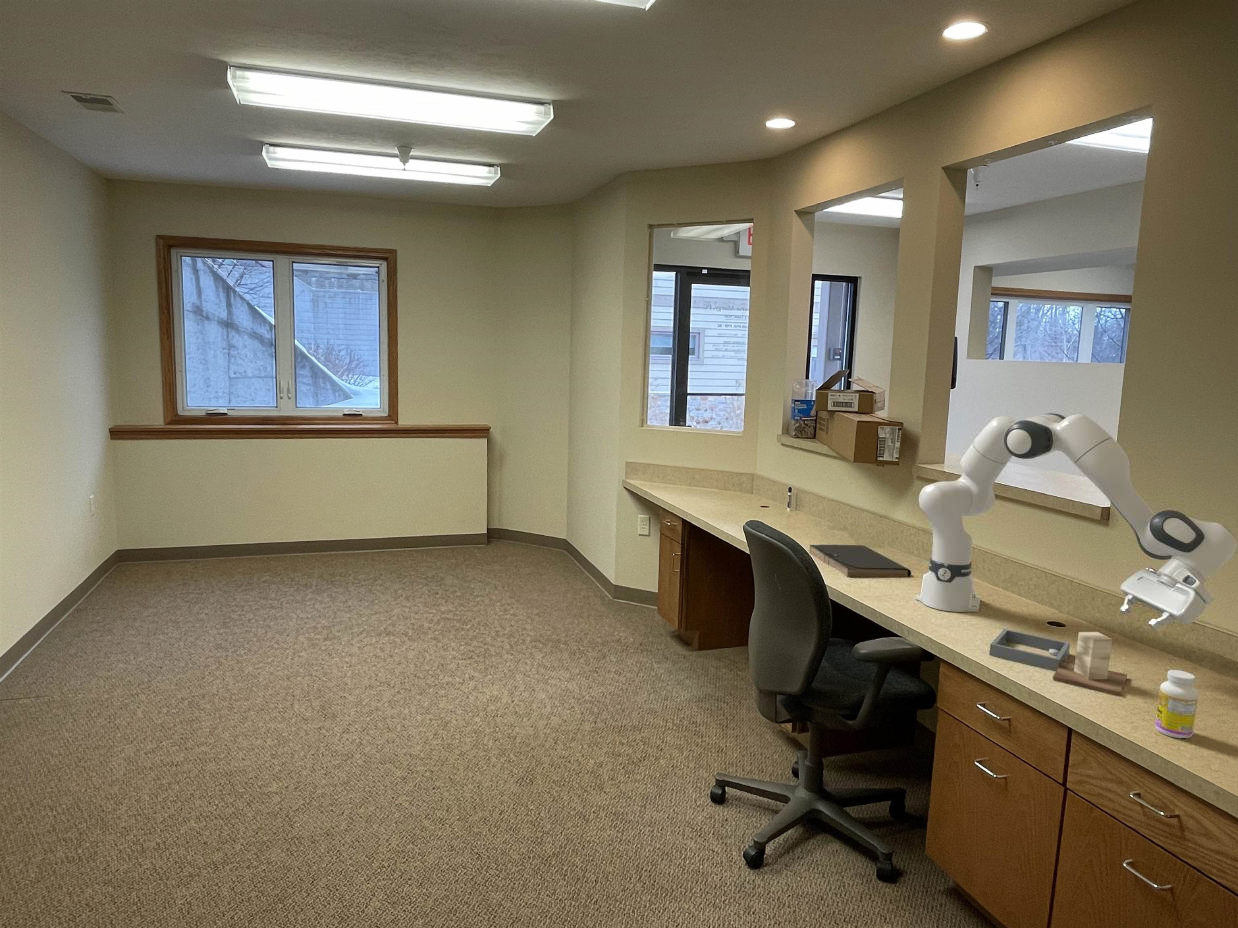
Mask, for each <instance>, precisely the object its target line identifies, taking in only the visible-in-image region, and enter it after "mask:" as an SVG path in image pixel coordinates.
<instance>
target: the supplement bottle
mask: <svg viewBox="0 0 1238 928" xmlns="http://www.w3.org/2000/svg"><path fill="white" fill-rule="evenodd" d="M1166 677H1167V680H1165V681H1164V682H1162V683H1161V684H1160V686H1159V693H1158V699H1157V700H1158V701H1157V707H1156V714H1155V720H1154V721H1155V722H1154V727H1155V729H1156V730H1157V731H1158V732H1160V733H1161V734H1163V735H1166V736H1168V737H1171V738H1175V739H1181V738H1186V739H1190V738H1191V737H1192V736H1193V734H1194V727H1195V720H1196V715H1197V714H1196V713H1197V707H1198V700H1199V692H1198V689H1196V688H1195V687H1194V686H1193V685H1194V683H1195V680H1196V676H1195V675H1193V674H1192V673H1189V672H1188V671H1184V670H1178V669H1170V670H1168V671H1167V675H1166Z"/></svg>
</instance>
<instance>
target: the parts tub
mask: <svg viewBox="0 0 1238 928" xmlns="http://www.w3.org/2000/svg"><path fill="white" fill-rule="evenodd" d="M1006 642H1010V643H1013V642H1014V644H1018V645H1022V644H1023V645H1022V646H1026V647H1031V648H1035V649H1040V650H1043V651H1048V654H1049V655H1050V656H1049V655H1046V654H1042V653H1041V654H1040V653H1035V652H1032V651H1027V650H1023V649H1020V648H1015V647H1012V646H1011V647H1010V646H1006V645H1005V644H1006ZM989 645H990V646H989V656H991V657H996V658H1000V659H1004V660H1007V661H1013V662H1017V663H1021V664H1025V665H1029V666H1033V667H1038V668H1041V669H1046V670H1051V671H1055V672H1056V671H1057V669H1058V668H1059V666H1060V664H1061V663H1062V661H1063V660H1066V659H1067V658H1068V655H1070V646H1071V642H1067V641H1063V640H1060V639H1059V640H1058V639H1053V638H1048V637H1044V636H1040V635H1035V634H1031V633H1025V632H1021V631H1017V630H1013V629H1008V628H1003V630H1002V631H1001V632H1000V633H999V634H998V635H997V636H996V638H995V639H993V640H992V641H991V643H990V644H989ZM1002 645H1003V646H1002ZM1053 656H1055V657H1053Z"/></svg>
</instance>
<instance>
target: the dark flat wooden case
mask: <svg viewBox="0 0 1238 928" xmlns="http://www.w3.org/2000/svg"><path fill="white" fill-rule="evenodd" d="M808 551H809V554H810V555H812V556H813V557H815V558H817V559H818V560H819V561H820V562H823V564H827V566H829V567H831V568H833V569H835V570H837V571H839V572H840V573H841V574H843V575H844V576H846V577H847V578H877V577H878V578H880V577H882V578H883V577H884V578H885V577H888V578H889V577H890V578H891V577H910V576H911V575H912V571H911V570H910V569H909V568H908V567H905V566H904V565H902V564H900V563H898V562H896V561H894V560H893V559H891V558H889V557H886V556H885V555H884V554H883V555H882V554H881V553H879V552H877V551H875V550H873V549H872V548H870V547H868V546H865V545H859V544H809V550H808Z"/></svg>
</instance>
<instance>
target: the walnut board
mask: <svg viewBox="0 0 1238 928" xmlns="http://www.w3.org/2000/svg"><path fill="white" fill-rule="evenodd" d="M1074 667H1075V661H1070V660H1066V659H1065V660H1063V661H1062V663H1061V664H1060V666H1059V668H1058V669H1057V671H1055V672H1054V674H1053V676H1052V680H1053V681H1056V682H1060V683H1064V684H1068V685H1073V686H1076V687H1080V688H1084V689H1089V690H1091V691H1095V692H1100V693H1104V694H1105V693H1106V694H1107V695H1108V694H1109V695H1113V696H1117V697H1121V695H1122V693H1123V690H1124V688H1125V685H1126V682H1127V679H1128V674H1127V673H1123V672H1117V671H1113V670H1109V669H1108V676H1107V679H1089V680H1088V679H1086V678H1085V677H1083V676H1081V675H1080V674H1078V673H1076V672H1074Z"/></svg>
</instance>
